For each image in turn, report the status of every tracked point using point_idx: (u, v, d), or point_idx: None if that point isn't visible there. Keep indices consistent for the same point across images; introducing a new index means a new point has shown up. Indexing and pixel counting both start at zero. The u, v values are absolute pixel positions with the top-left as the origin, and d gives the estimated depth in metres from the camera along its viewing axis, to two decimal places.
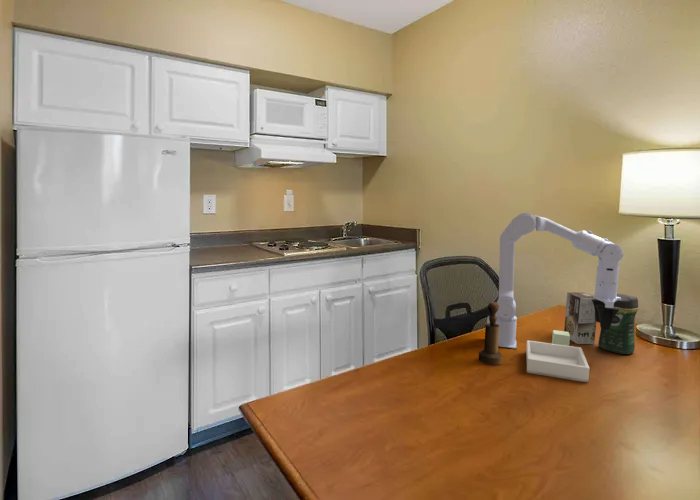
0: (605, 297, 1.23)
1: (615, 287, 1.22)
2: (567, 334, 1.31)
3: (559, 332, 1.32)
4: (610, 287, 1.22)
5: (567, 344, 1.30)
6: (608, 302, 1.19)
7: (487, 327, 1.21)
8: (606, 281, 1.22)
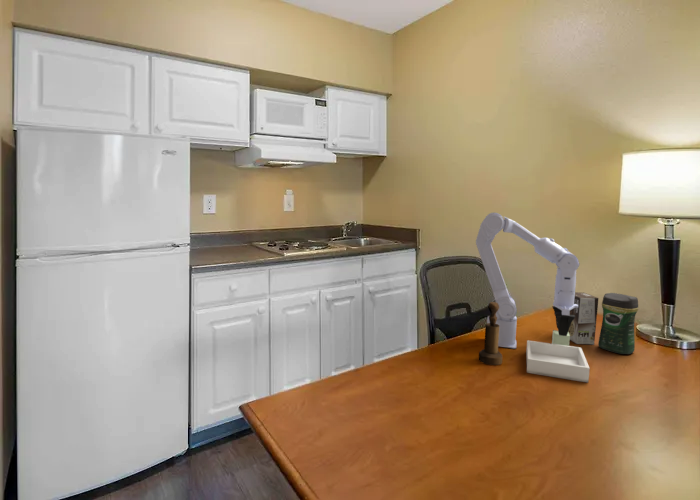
0: (563, 305, 1.28)
1: (572, 295, 1.28)
2: (567, 334, 1.31)
3: None
4: (567, 295, 1.28)
5: (567, 344, 1.30)
6: (564, 310, 1.24)
7: (487, 327, 1.21)
8: (564, 289, 1.28)
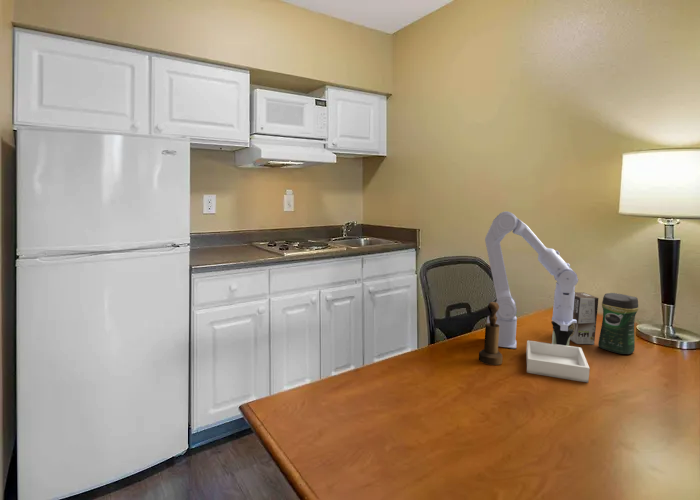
0: (561, 320, 1.29)
1: (571, 310, 1.29)
2: None
3: None
4: (566, 310, 1.28)
5: (567, 344, 1.30)
6: (563, 325, 1.25)
7: (487, 327, 1.21)
8: (563, 305, 1.28)
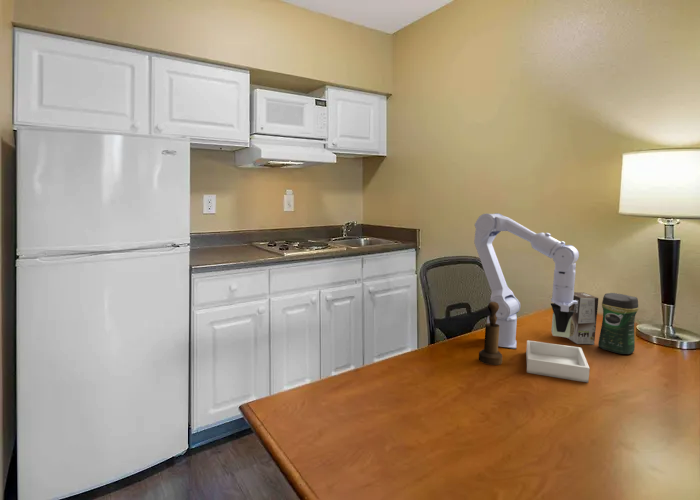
0: (561, 301, 1.22)
1: (571, 291, 1.22)
2: None
3: None
4: (566, 291, 1.22)
5: (568, 327, 1.23)
6: (563, 306, 1.18)
7: (487, 327, 1.21)
8: (558, 284, 1.22)
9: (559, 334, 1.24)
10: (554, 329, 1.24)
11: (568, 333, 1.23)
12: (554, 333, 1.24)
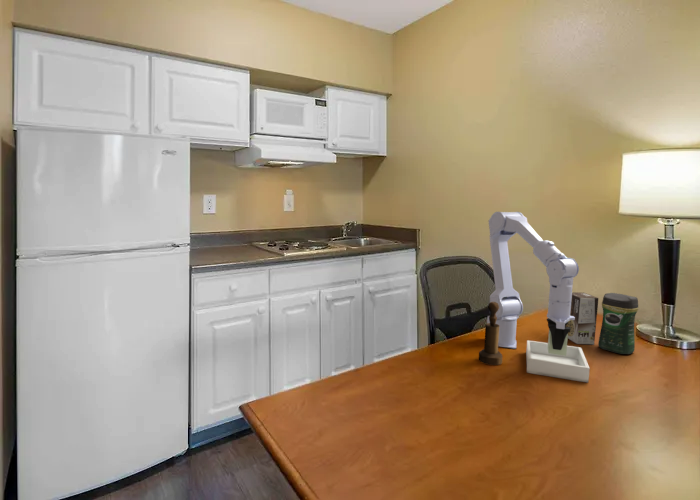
0: (557, 317, 1.16)
1: (568, 306, 1.15)
2: None
3: None
4: (562, 306, 1.15)
5: (565, 344, 1.16)
6: (559, 323, 1.12)
7: (487, 327, 1.21)
8: (551, 298, 1.17)
9: (555, 352, 1.17)
10: (550, 346, 1.18)
11: (565, 351, 1.16)
12: (550, 351, 1.18)
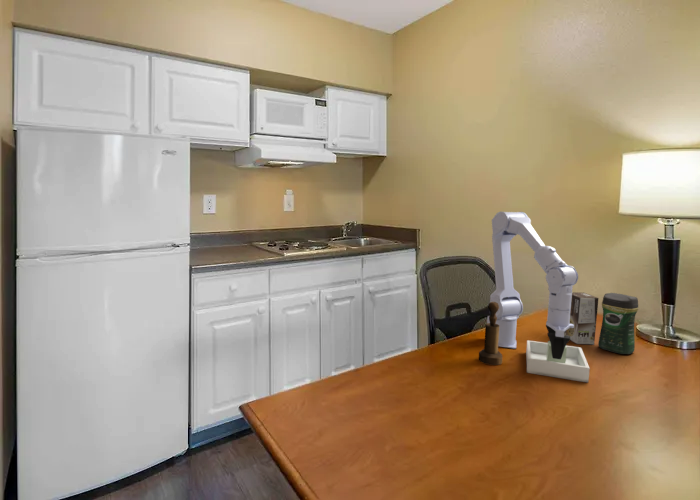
0: (557, 324, 1.16)
1: (567, 314, 1.15)
2: None
3: None
4: (562, 314, 1.15)
5: (563, 357, 1.17)
6: (558, 331, 1.12)
7: (487, 327, 1.21)
8: (550, 306, 1.17)
9: None
10: (549, 359, 1.18)
11: None
12: None
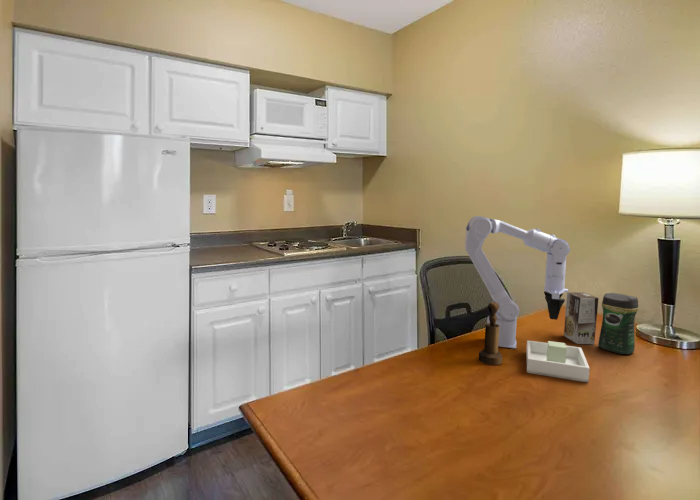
0: (553, 289, 1.32)
1: (562, 280, 1.31)
2: (563, 346, 1.18)
3: (555, 343, 1.20)
4: (557, 280, 1.31)
5: (563, 357, 1.17)
6: (554, 294, 1.28)
7: (487, 327, 1.21)
8: (556, 274, 1.31)
9: None
10: (549, 359, 1.18)
11: None
12: None
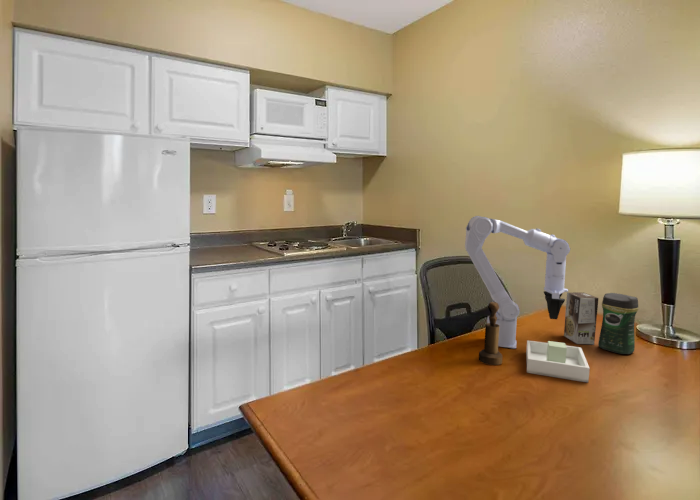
0: (553, 289, 1.32)
1: (562, 279, 1.31)
2: (563, 346, 1.18)
3: (555, 343, 1.20)
4: (557, 279, 1.31)
5: (563, 357, 1.17)
6: (554, 293, 1.28)
7: (487, 327, 1.21)
8: (556, 274, 1.31)
9: None
10: (549, 359, 1.18)
11: None
12: None
